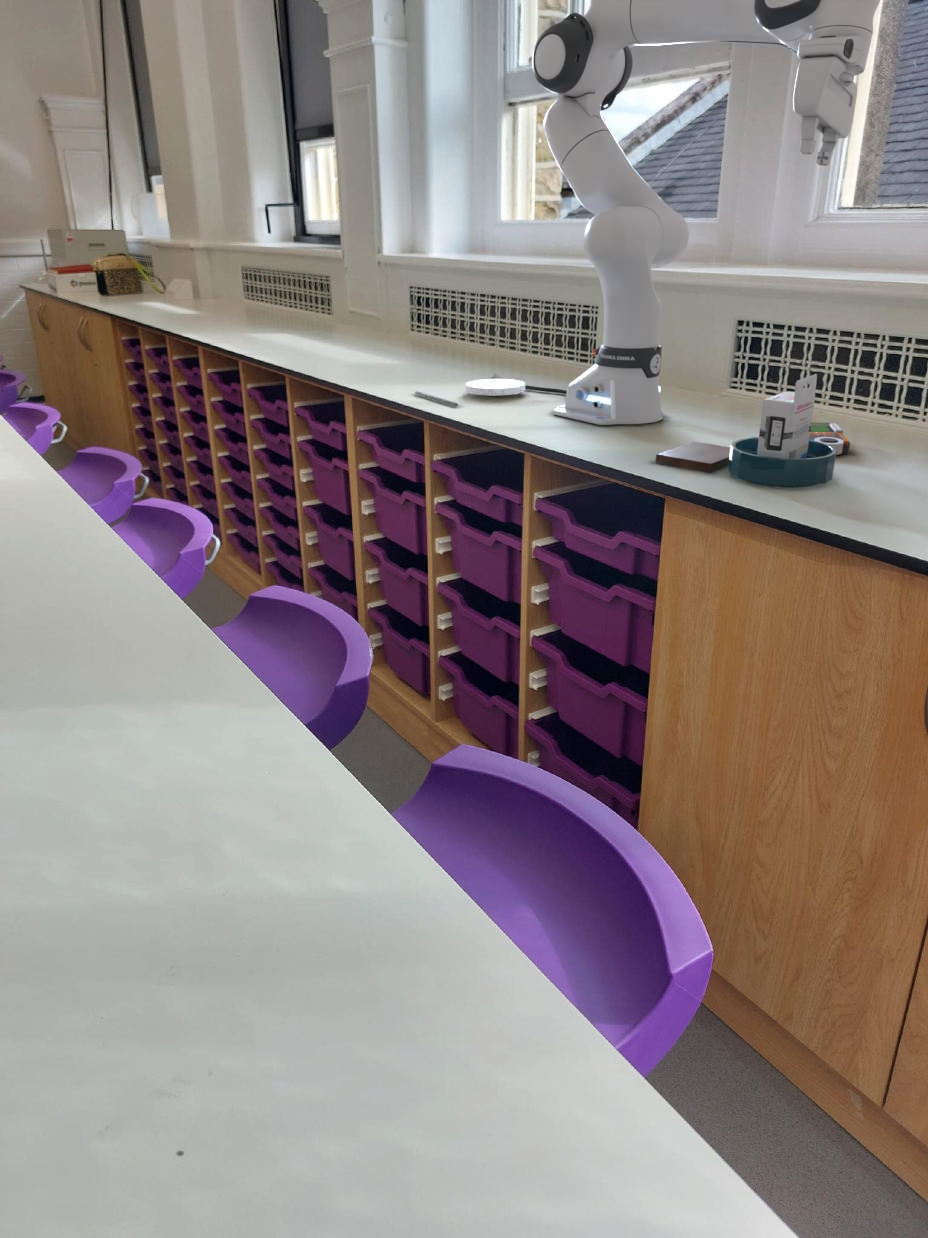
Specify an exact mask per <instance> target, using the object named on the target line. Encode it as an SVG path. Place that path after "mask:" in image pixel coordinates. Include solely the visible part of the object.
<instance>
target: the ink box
mask: <svg viewBox="0 0 928 1238" xmlns="http://www.w3.org/2000/svg"><path fill="white" fill-rule="evenodd" d="M817 381H818V374H817V373H814V374H811V375H809V376H806V377H803V378H801V379H797V380H796V382H795V386H794V387H795V388H794V391H788V390H787V391H786V390H785V391H783V392H781V393H778V394H776V395H775V394H774V395H772V396H770V397H767V398H764V399H762V406H761V415H760V424H759V434H758V437H759V441H758V450H757V455H759V456H765V457H773V458H785V459H805V458H806V457H807V450H808V443H809V436H810V429H811V422H813V416H814V407H815V401H816V390H817ZM806 385H808V388H805V389H804V387H805V386H806Z"/></svg>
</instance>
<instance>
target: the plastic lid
mask: <svg viewBox="0 0 928 1238" xmlns="http://www.w3.org/2000/svg"><path fill="white" fill-rule="evenodd" d="M525 385H526V382H525V381H522V380H517V379H510V378H499V379H494V378H486V379H485V378H484V379H475V380H470V381H467V382H465V383H464V388H465V389H464V390H465V392H466V393H467V394H471V395H475V396H489V397H490V396H492V397H495V396H496V397H497V396H512V395H518V394H522V393H524V392H526V389H525Z"/></svg>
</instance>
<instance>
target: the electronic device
mask: <svg viewBox="0 0 928 1238" xmlns="http://www.w3.org/2000/svg"><path fill="white" fill-rule="evenodd" d="M809 440H813V441H818V442H822V443H825V444H828V445H830V446H833V447H834V448H835V449H836V450H837V452H836V456H837V455H848V454H849V452H850V445H851V442H850V440H848V438H846V436H845V435H844V431H843V430H842V428H841V427H840V426H839V425H838V423H834V422H813V421H812V422H811V429H810V436H809Z"/></svg>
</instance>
